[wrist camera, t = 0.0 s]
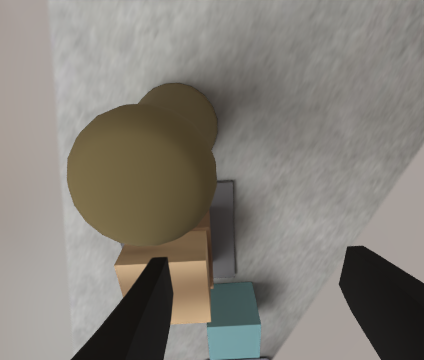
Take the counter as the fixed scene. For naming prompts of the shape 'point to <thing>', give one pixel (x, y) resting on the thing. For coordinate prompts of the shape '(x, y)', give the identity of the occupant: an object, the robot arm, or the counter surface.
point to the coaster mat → (222, 230)
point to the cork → (147, 167)
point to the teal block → (234, 322)
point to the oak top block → (174, 274)
